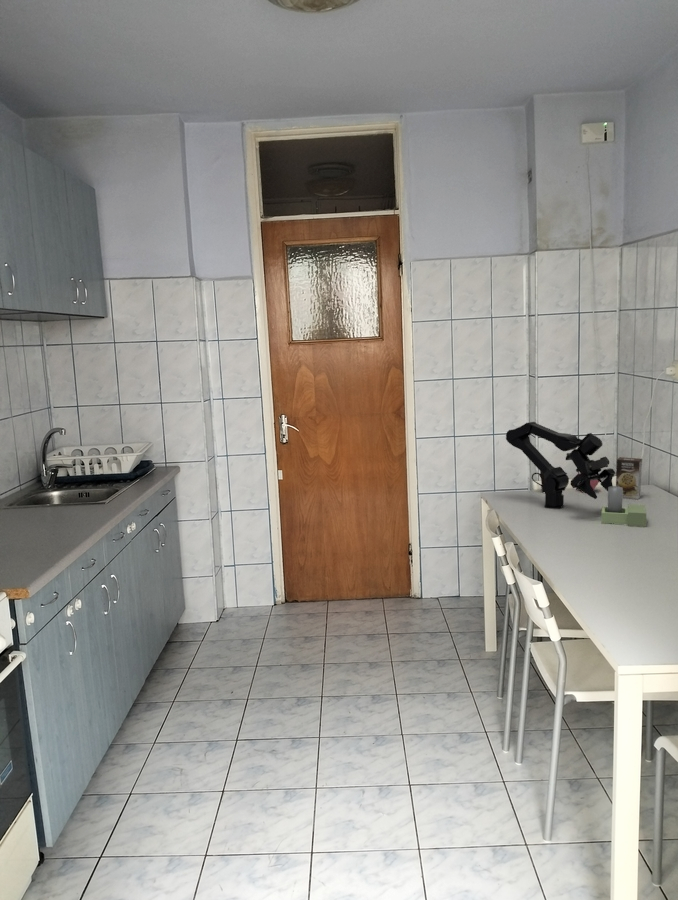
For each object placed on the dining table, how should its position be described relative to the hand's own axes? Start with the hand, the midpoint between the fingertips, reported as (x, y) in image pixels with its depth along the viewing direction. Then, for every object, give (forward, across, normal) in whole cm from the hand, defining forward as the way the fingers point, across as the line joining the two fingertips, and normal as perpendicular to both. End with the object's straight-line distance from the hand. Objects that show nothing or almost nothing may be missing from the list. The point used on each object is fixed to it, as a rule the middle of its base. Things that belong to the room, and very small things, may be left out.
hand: (605, 496), depth 273 cm
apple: (-17, +28, +30) cm, 45 cm away
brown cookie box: (-6, +33, +18) cm, 38 cm away
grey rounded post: (+9, 0, +3) cm, 9 cm away
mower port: (+11, +2, +1) cm, 11 cm away
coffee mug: (-25, +14, +37) cm, 47 cm away
